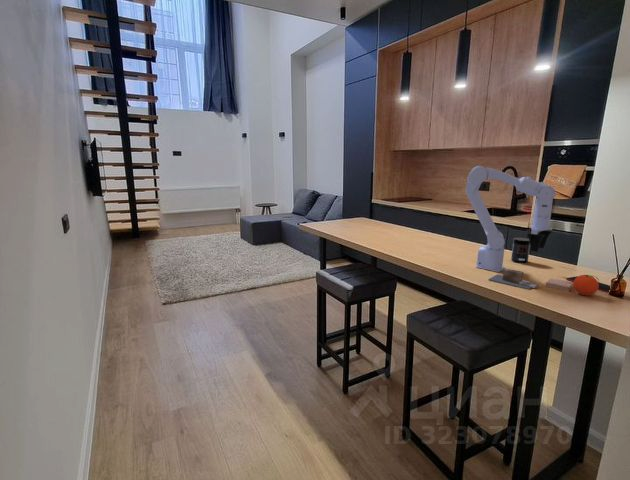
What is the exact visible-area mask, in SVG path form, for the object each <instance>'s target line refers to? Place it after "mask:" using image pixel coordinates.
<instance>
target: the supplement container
mask: <svg viewBox="0 0 630 480" xmlns="http://www.w3.org/2000/svg"><path fill="white" fill-rule="evenodd" d="M530 251H531V247H530V240H529V238H528V237H527V238H525V237H513V241H512V251H511V260H510V261H512V262H514V263H517V264H526V263H528V262H529V256H530Z"/></svg>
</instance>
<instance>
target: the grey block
mask: <svg viewBox="0 0 630 480" xmlns="http://www.w3.org/2000/svg"><path fill="white" fill-rule="evenodd" d="M502 271H503V272H502V273H503V274H502V275H503V280H505V281H509V282H514V283H518V284H519V285H524V286H528V287H532V288H533V289H534V288H536V287H537V286H539V283H538V282H535V281H531V280H526V279H524V278H523V277H524V271H520V270H515V269H511V268H505V269H503V270H502ZM522 280H523V281H522ZM525 280H526V281H525ZM530 281H531V282H530ZM534 282H535V283H534ZM532 288H531V289H532Z"/></svg>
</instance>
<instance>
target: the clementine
mask: <svg viewBox="0 0 630 480" xmlns="http://www.w3.org/2000/svg"><path fill="white" fill-rule="evenodd" d="M577 276H578V277H577V278H575V280H574V282H573V287H572V288H573V289H574V290H575V292H577V293H578V294H580V295H581V296H592V295H594V294H595V293H596V292H597V291H599V290H598V288H599V284H598V282H600V279H599V278H598V276H594V275H591V274H581V275H577Z"/></svg>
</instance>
